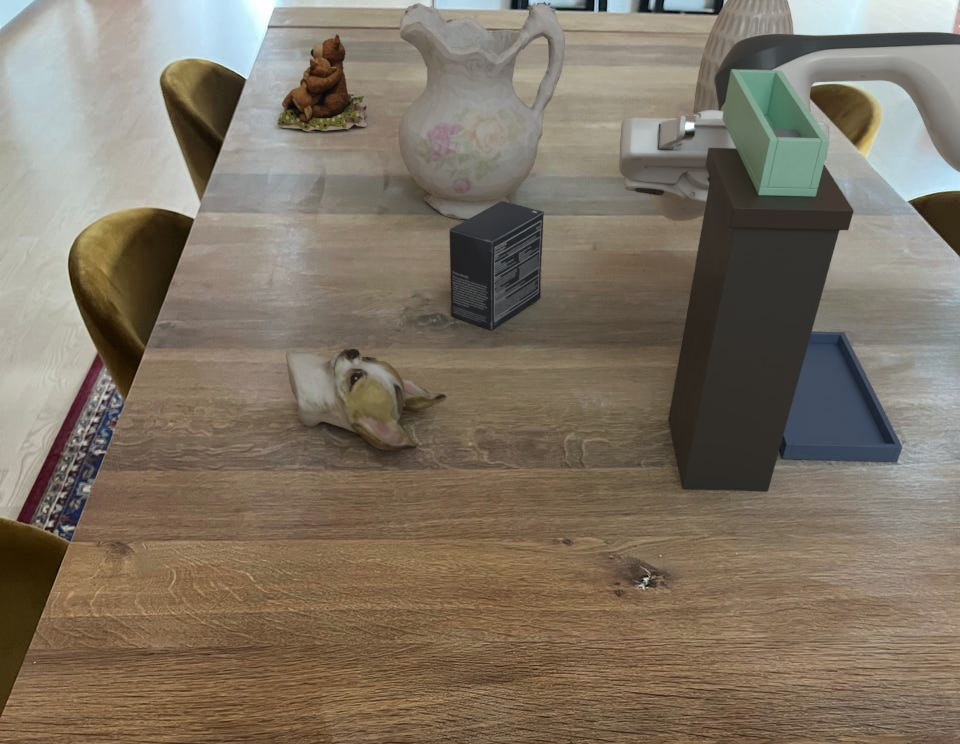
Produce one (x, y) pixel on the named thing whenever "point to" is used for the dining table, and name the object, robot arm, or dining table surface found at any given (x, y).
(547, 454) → the dining table surface
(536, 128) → the ceramic pitcher
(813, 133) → the slim bin
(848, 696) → the dining table surface
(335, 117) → the bear figurine
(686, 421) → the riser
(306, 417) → the ceramic sculpture
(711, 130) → the robot arm
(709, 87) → the vase
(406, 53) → the dining table surface
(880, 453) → the tray
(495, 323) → the small box
